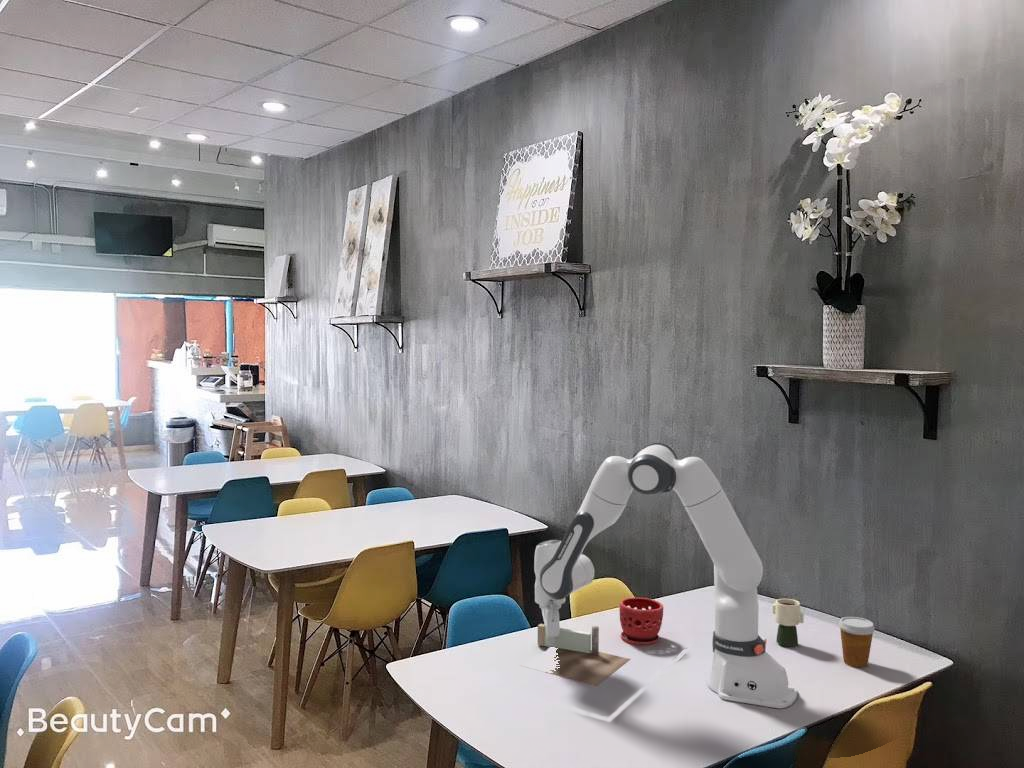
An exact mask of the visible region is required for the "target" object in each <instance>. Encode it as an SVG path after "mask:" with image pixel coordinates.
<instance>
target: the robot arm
mask: <svg viewBox="0 0 1024 768" xmlns="http://www.w3.org/2000/svg"><path fill="white" fill-rule="evenodd" d="M601 463H602V464H601V465H600V466H599V468H598V470H596V473H595V475H594V477H593V479H592V480H591V483H590V485H589V488H588V490H587V492H586V494H585V497H584V499H583V501H582V503H581V505H580V507H579V508H578V510H577V513H576V514H575V516H574V518H573V519H572V522H570V525H569V526H568V527H567V529H566V532H565V533H564V536H563V537H562V538H561V539H562V540H559V539H549V540H545V541H542V542H539V543H538V544H537V545H536V547H535V550H534V562H533V564H534V565H533V567H534V568H533V569H534V570H533V571H534V574H535V583H534V602H535V603H536V604H537V605H539V608H540V609H541V614H542V618H543V622H544V623H543V624H545V629H546V634H547V637H548V643H554V638H557V637H559V635H560V628H561V627H560V612H559V611H560V610H559V609H561V608H562V605H563V604H565V602H566V597H568V596H570V595H571V594H572V593H574V592H575V593H576V592H577V591H580V590H581V589H583V588H585V587H587V586H589V585H590V584H592V583H593V581H594V579H595V576H596V574H595V573H596V570H595V566H594V562H592V559H590V557H588V556H587V555H585V554H583V551H584V549H585V548H586V546H587V545H588V543H589V542H590V541H591V540H592V539H593V538H594V537H595V536H597V535H598V534H600V533H601V532H603V531H604V530H605V529H608V528H609V527H611V526H612V525H614V524H615V523H616V522H617V521H618V519H619V518H620V517H621V515H622V514H623V512H624V510H625V508H626V506H627V504H628V501H629V499H630V496H631V495H632V493H633V491H634V490H635V491H636V492H637V493H640V494H642V495H655V494H662V493H669V492H671V491H673V492H675V493H676V494H677V496H678V497H679V500H680V501H681V503H682V505H683V507H684V509H685V512H687V515H688V517H689V518H690V520H691V522H692V524H693V526H694V528H695V530H696V532H697V534H698V536H699V538H700V539H701V541H702V543H703V546H704V547H705V550H706V551H707V554H708V556H709V557H710V559H711V561H712V563H713V583H714V585H713V586H714V606H715V607H714V630H713V632H712V642H711V643H712V645H711V646H712V652H713V655H712V656H713V657H712V664H711V668H710V669H711V671H710V673H709V677H708V679H707V680H708V681H707V686H708V687H709V688H710V689H711V690H712V691H714V692H715V693H716V694H717V695H718V696H719V698H720V699H722V700H725V701H733V702H737V703H743V704H744V703H745V704H749V705H755V706H756V705H757V706H761V707H769V708H774V709H785V708H787V707H790V706H791V705H793V704H794V703H795V701H796V700H797V697H798V690H797V688H796V686H794V685H793V684H789V679H788V674H787V671H786V669H785V667H784V666H783V665H782V664H781V663H779V662H778V661H777V660H776V659H775V658H773V657H772V656H771V655H770V654H769V652H768V651H766V645H767V638H765V639H762V637H761V636H760V635H759V610H760V609H759V600H758V588H757V587H758V586H759V585H760V584H761V581H762V580H763V574H764V573H763V572H764V566H763V562H762V559H761V557H760V556H759V554H758V552H757V550H756V548H755V547H754V545H753V543H752V541H751V539H750V537H749V535H748V534H747V531H746V530H745V528H744V526H743V525H742V523H741V521H740V519H739V517H738V515H737V513H736V511H735V510H734V507H733V506H732V504H731V502H730V501H729V499H728V497H727V495H726V493H725V491H724V489H723V487H722V485H721V484H720V481H719V480H718V478H717V477H716V476H715V474H714V472H713V471H712V470H711V468H710V467H709V466H708V465H707V463H706V462H705V461H704V460H703V459H702V458H701V457H698V456H688V457H684V458H683V459H678V458H677V453H676V451H674V449H673V448H672V447H671V446H669V445H668V444H666V443H664V442H654V443H651V444H648V445H646V446H644V447H643V448H642V449H640V450H638V452H636V453H634V454H633V455H632V458H630V459H629V458H625V457H623V456H620V455H611V456H608V457H607V458H606V459H604V461H603V462H601Z"/></svg>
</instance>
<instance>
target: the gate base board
mask: <svg viewBox="0 0 1024 768" xmlns="http://www.w3.org/2000/svg"><path fill="white" fill-rule="evenodd" d="M599 632H600V631H599V626H596V625H593V626H591V652H590V653H585V652H579V651H573V650H567V649H561V648H558V649H557V650H556V653H558V655H556V657H557V656H558V657H559V658H557V659H556V660H560V661H558V663H559V664H556V665H560V666H556V667H560V668H558V669H557V668H555V670H556V671H554V670H550V671H552V672H553V673H548V672H545V674H550V675H553V676H557V677H561V678H564V679H569V680H571V681H572V680H574V681H577V682H580V683H585V684H589V685H592V686H596V687H598V686H599V685H601V683H603V682H604V681H605V680H606V679H608V678H609V677H611V675H613V674H614V673H615V672H617V671H618V670H619V669H620V668H621V667H623V666H624V665H625V664H627V663H628V662H629V661H630V660H631V658H628V657H624V656H620V655H619V656H618V655H616V654H615V655H614V654H610V653H606V652H602V651H599V650H600V649H599V647H600V646H599V641H600V640H599V639H600V638H599V637H600V636H599V635H600V634H599ZM556 657H554V658H556ZM556 660H554V661H556Z"/></svg>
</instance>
